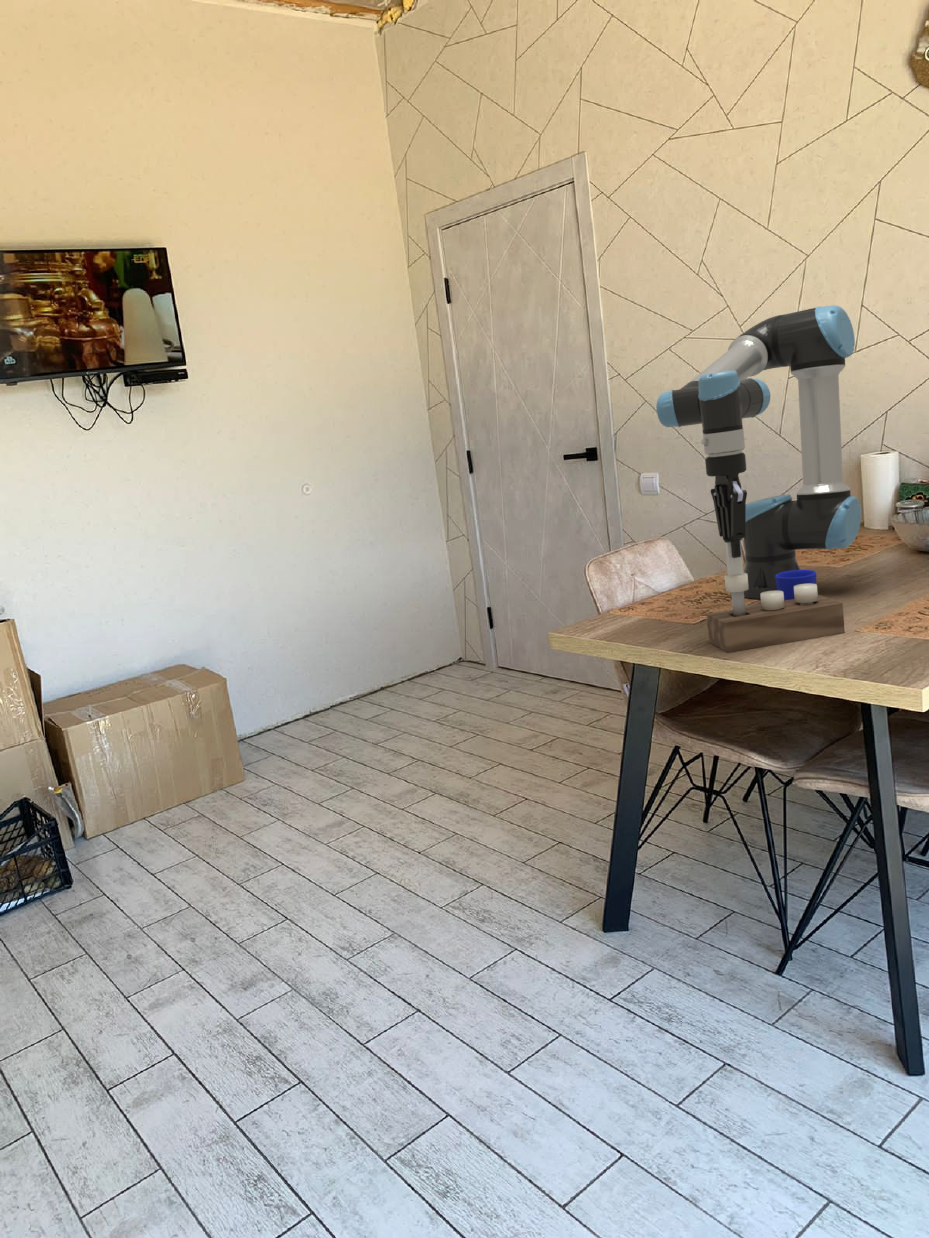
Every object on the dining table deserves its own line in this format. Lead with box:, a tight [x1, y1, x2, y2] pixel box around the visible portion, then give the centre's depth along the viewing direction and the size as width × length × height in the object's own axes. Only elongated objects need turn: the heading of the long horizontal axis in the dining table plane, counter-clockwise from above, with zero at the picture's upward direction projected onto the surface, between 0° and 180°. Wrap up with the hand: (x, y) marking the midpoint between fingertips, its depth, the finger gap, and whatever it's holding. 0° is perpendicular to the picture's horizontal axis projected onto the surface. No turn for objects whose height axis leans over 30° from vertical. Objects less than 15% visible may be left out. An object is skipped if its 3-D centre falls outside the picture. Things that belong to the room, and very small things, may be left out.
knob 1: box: [723, 573, 749, 617], centre depth 186 cm, size 4×4×9 cm
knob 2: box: [760, 591, 785, 611], centre depth 188 cm, size 4×4×9 cm
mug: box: [775, 569, 817, 601], centre depth 201 cm, size 8×12×10 cm
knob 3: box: [794, 583, 819, 606], centre depth 188 cm, size 4×4×9 cm
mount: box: [706, 594, 845, 653], centre depth 188 cm, size 10×24×6 cm, turn 96°
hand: (735, 573), depth 185 cm, fingers closed
